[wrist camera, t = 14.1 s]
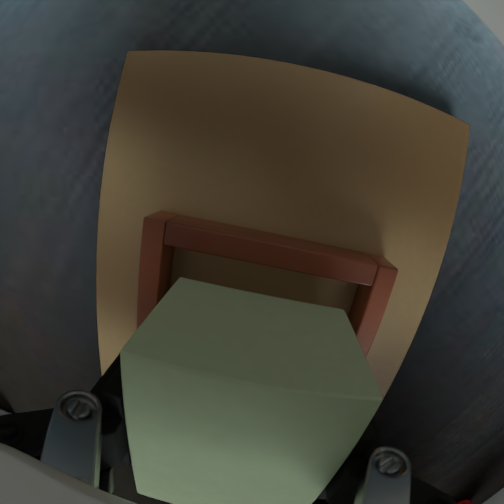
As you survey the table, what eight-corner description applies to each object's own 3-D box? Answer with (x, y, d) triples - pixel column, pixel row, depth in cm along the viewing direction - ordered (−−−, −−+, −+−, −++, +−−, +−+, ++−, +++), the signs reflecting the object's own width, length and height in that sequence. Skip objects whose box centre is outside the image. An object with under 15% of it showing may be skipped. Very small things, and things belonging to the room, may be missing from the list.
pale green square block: (179, 275, 10) (118, 350, 5) (344, 308, 10) (384, 399, 5) (169, 412, 12) (136, 493, 7) (294, 436, 11) (296, 522, 7)
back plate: (138, 58, 10) (109, 38, 8) (456, 126, 10) (492, 121, 8) (119, 437, 16) (105, 464, 14) (322, 477, 16) (325, 507, 14)
